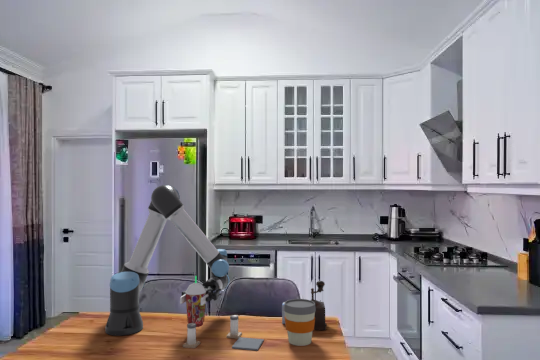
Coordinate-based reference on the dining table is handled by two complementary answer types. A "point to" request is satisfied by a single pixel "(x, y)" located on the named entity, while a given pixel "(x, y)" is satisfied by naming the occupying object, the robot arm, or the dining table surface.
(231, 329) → the post far
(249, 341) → the mat
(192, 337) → the post near
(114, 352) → the dining table surface
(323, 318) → the pepper mill
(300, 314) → the reusable coffee cup
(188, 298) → the smoothie
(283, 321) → the medicine box
